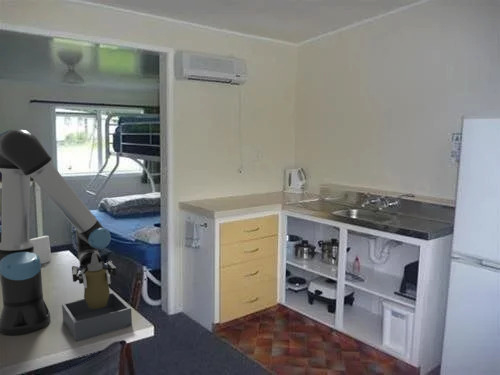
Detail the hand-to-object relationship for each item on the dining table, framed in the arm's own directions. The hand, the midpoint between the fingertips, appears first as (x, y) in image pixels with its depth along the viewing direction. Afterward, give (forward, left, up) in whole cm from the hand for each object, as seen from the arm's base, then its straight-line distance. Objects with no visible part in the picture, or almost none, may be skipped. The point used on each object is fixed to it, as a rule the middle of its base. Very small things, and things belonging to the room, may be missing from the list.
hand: (97, 281), depth 132 cm
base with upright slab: (+42, +83, -16) cm, 94 cm away
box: (+3, +4, -16) cm, 17 cm away
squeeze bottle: (+3, +4, -10) cm, 11 cm away
